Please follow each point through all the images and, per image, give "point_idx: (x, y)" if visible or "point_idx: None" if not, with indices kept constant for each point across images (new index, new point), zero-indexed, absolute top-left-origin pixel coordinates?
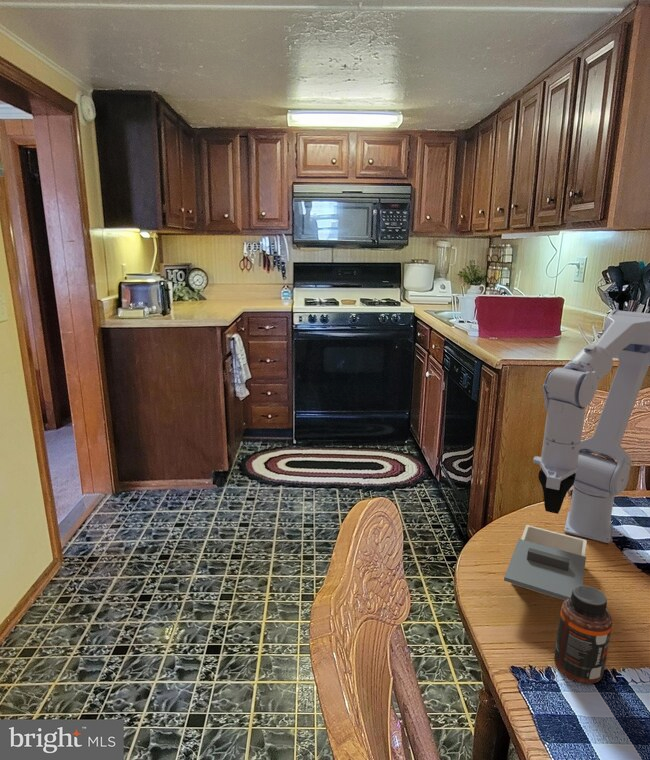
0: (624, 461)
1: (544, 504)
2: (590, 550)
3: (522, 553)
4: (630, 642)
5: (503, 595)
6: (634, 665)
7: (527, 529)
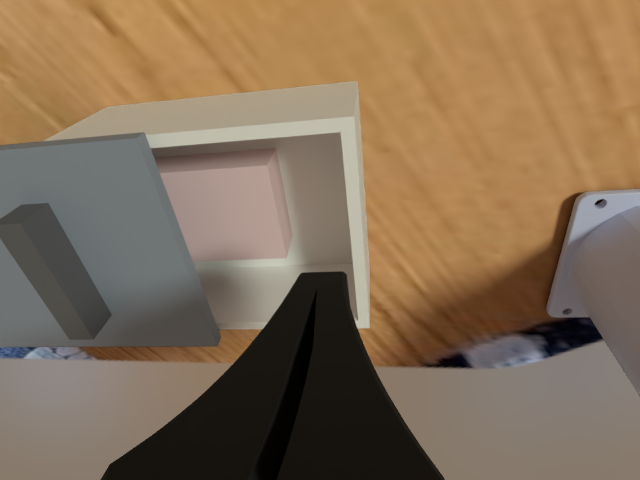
0: None
1: (290, 292)
2: (477, 271)
3: (42, 181)
4: (143, 347)
5: (34, 102)
6: (90, 351)
7: (308, 133)
